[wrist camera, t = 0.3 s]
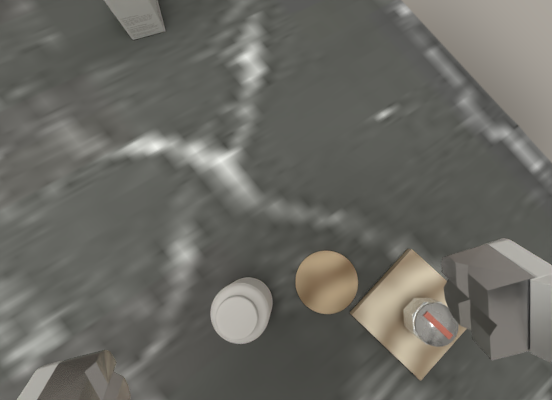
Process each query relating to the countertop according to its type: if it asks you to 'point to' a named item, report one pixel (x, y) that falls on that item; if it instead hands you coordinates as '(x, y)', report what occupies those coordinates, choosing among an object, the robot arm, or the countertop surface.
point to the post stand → (390, 317)
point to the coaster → (326, 282)
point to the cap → (430, 321)
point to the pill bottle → (242, 310)
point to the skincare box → (138, 16)
